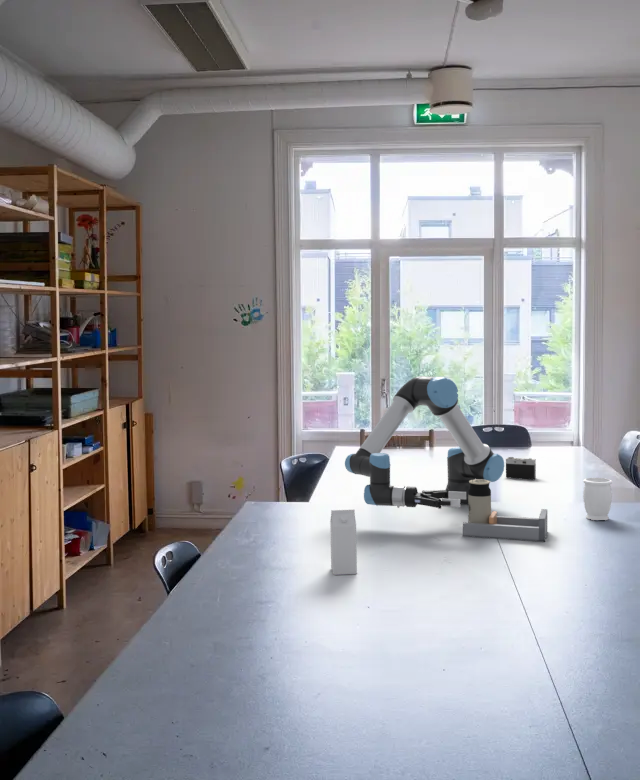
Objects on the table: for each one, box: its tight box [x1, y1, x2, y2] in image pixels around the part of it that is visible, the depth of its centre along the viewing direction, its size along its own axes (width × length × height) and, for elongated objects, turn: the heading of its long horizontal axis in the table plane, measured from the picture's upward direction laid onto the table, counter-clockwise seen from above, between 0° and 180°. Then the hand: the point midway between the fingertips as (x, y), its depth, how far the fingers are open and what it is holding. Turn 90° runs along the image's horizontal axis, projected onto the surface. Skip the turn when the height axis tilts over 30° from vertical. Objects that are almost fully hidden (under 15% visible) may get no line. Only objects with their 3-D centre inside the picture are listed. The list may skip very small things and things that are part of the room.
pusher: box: [489, 510, 498, 524], centre depth 281 cm, size 10×2×6 cm, turn 161°
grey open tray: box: [462, 508, 548, 543], centre depth 279 cm, size 15×28×8 cm, turn 71°
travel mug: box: [467, 479, 492, 524], centre depth 282 cm, size 8×8×18 cm
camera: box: [505, 456, 537, 480], centre depth 387 cm, size 14×8×10 cm, turn 61°
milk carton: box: [329, 509, 358, 576], centre depth 238 cm, size 7×7×19 cm
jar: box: [582, 477, 613, 521], centre depth 299 cm, size 11×10×15 cm
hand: (463, 499), depth 283 cm, fingers open, 13 cm apart
